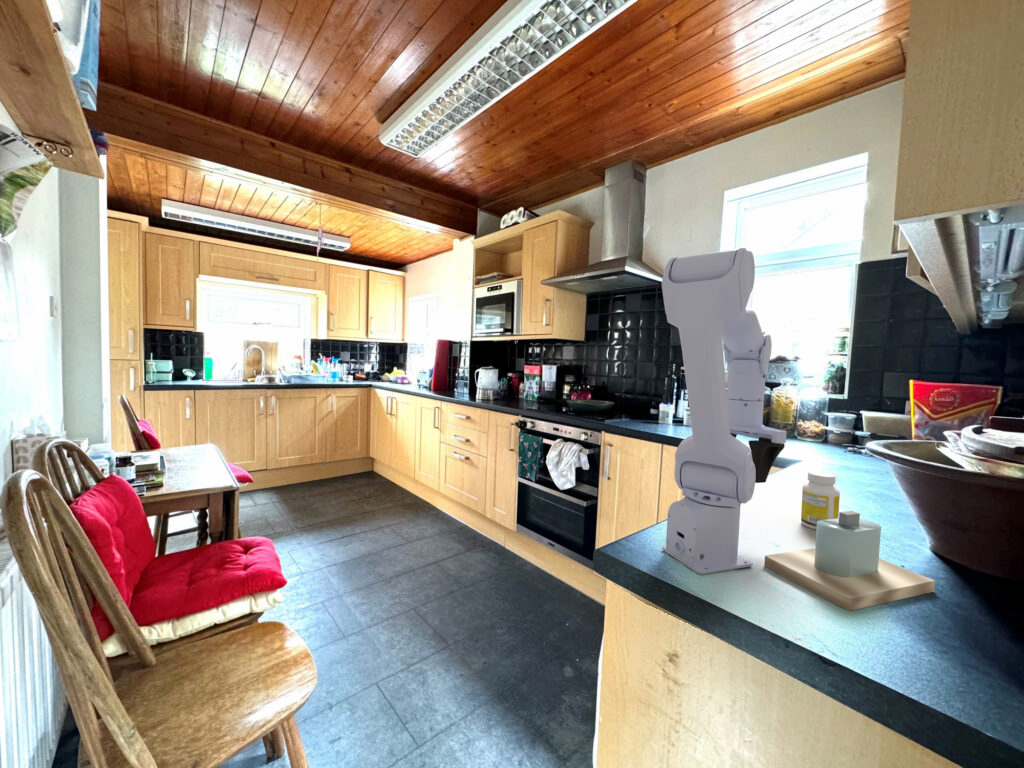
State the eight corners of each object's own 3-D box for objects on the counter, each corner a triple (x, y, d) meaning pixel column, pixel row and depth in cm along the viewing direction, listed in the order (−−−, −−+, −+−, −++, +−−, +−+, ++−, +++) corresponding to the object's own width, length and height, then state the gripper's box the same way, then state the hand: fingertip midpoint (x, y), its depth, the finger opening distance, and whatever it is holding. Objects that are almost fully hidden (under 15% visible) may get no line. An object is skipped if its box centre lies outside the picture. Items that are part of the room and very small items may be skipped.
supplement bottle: (824, 522, 76) (827, 471, 75) (845, 533, 70) (849, 479, 70) (794, 520, 76) (797, 469, 76) (812, 531, 71) (816, 477, 70)
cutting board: (848, 610, 47) (849, 598, 47) (764, 565, 57) (764, 555, 57) (933, 591, 52) (934, 580, 52) (841, 553, 62) (842, 544, 62)
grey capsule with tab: (838, 579, 51) (842, 521, 51) (807, 564, 55) (810, 510, 55) (885, 570, 54) (889, 515, 54) (852, 557, 58) (856, 505, 58)
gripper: (802, 403, 65) (796, 486, 65) (728, 396, 78) (724, 465, 79) (769, 403, 62) (764, 489, 63) (699, 396, 76) (696, 466, 77)
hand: (740, 476), depth 71 cm, fingers open, 7 cm apart
